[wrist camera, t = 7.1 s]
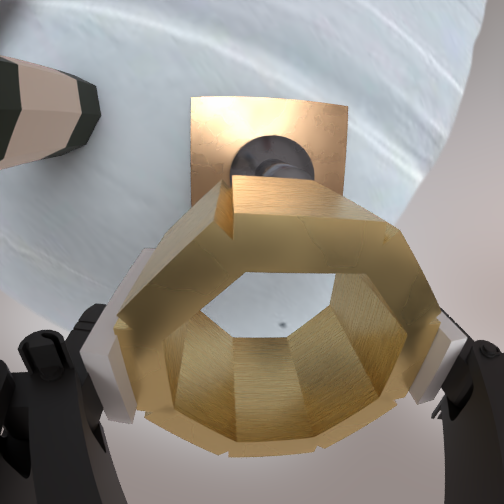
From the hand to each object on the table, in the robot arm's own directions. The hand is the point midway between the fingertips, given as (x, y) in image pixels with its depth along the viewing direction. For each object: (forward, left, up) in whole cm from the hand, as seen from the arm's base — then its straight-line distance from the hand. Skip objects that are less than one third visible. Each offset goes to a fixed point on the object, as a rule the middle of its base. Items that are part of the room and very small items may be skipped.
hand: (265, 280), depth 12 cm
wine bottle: (-18, +10, -16) cm, 26 cm away
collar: (0, 0, 0) cm, 0 cm away
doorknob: (+2, +3, -16) cm, 16 cm away
